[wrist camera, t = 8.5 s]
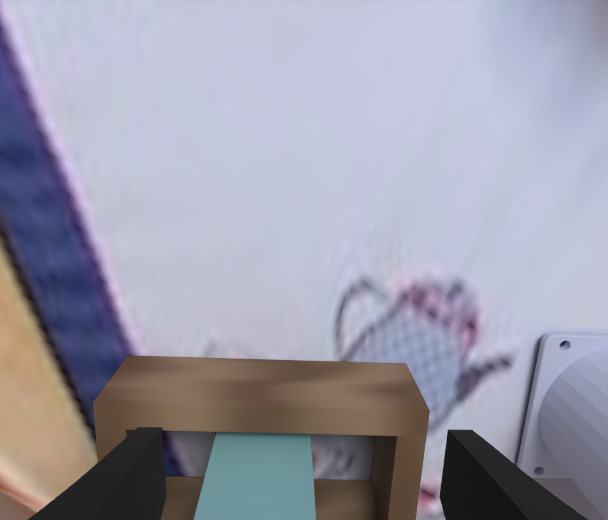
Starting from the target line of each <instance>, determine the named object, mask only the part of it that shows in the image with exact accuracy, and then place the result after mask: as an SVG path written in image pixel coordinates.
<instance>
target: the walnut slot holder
mask: <svg viewBox="0 0 608 520" xmlns="http://www.w3.org/2000/svg"><path fill="white" fill-rule="evenodd" d="M93 407H94V419H95V431H96V443H97V455H98V462H99V461H100V460H102V459H103V458H104V457H105V456H106V455H107V454H108V453H109V452H111V451H112V450H113V449H114V448H115V447H116V446H117V445H118V444H119V443H120V442H122V441H123V440H124V439H125V438H126V437H127V436H128V435H129V434H131V433H132V432H133V431H134V430H135V429H136V428H137V427H162V429H163V430H165V431H207V432H250V433H292V434H334V435H375V436H374V446H373V457H372V467H371V477H370V480H321V479H314V495H315V511H316V520H415V519H416V512H417V504H418V496H419V489H420V481H421V473H422V466H423V458H424V450H425V443H426V435H427V427H428V420H429V412H430V411H429V409H428V407H427V405H426V403H425V401H424V399H423V397H422V395H421V393H420V391H419V389H418V387H417V385H416V383H415V381H414V379H413V377H412V375H411V373H410V371H409V369H408V367H407V365H406V364H398V363H363V362H329V361H295V360H261V359H227V358H192V357H158V356H128V357H127V358H126V359H125V361H124V362H123V363H122V365H121V366H120V367H119V369H118V370H117V371H116V373H115V374H114V375H113V377H112V378H111V379H110V380H109V382H108V383H107V384H106V386H105V387H104V388H103V390H102V391H101V392H100V394H99V395H98V396H97V398H96V399H95V400H94V402H93ZM204 478H205V477H173V476H165V479H166V495H167V496H166V500H165V504H164V508H163V512H162V516H161V520H194V517H195V513H196V509H197V505H198V501H199V497H200V493H201V490H202V486H203V482H204Z"/></svg>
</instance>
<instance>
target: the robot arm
mask: <svg viewBox="0 0 608 520" xmlns="http://www.w3.org/2000/svg"><path fill="white" fill-rule="evenodd" d="M565 340H566V343H565V345H564V346H562V347H560V344H561V342H563V341H565ZM537 467H539V468H538V469H536V470H535V468H537ZM532 478H539V479H571V480H572V481H573V483H574V484H575V485H576V486H577V487H578V489H579V490H580V491H581V492H582V494H583V495H584V496H585V497H586V499H587V500H588V501H589V502H590V503H591V505H592V506H593V507H594V508H595V510H596V511H597V512H598V513H599V515H600V516H601V517H602V518H603V519H604V520H608V334H589V333H558V332H552V333H548V334H546V335H545V336H544V337H543V338H542V340H541V343H540V348H539V353H538V358H537V363H536V369H535V374H534V379H533V384H532V389H531V395H530V400H529V405H528V410H527V415H526V420H525V426H524V431H523V436H522V441H521V446H520V452H519V457H518V462H517V466H516V465H515V464H513V463H512V462H511V461H510V460H509V459H507V458H506V457H505V456H504V455H503V454H501V453H500V452H499V451H498V450H496V449H495V448H494V447H493V446H492V445H490V444H489V443H488V442H487V441H485V440H484V439H483V438H482V437H480V436H479V435H478V434H477V433H475V432H474V431H473V430H448V434H447V442H446V450H445V458H444V466H443V474H442V482H441V490H440V500H441V504H442V507H443V511H444V515H445V518H446V520H588V519H586V518H585V517H583V516H582V515H580V514H579V513H578V512H576V511H575V510H573V509H572V508H571V507H569V506H568V505H566V504H565V503H564V502H562V501H561V500H560V499H558V498H557V497H555V496H554V495H553V494H552V493H550V492H549V491H548V490H546V489H545V488H544V487H542V486H541V485H540V484H538V483H537V482H536V481H535V480H533V479H532ZM166 496H167V495H166V479H165V462H164V446H163V429H162V427H137V428H136V429H135V430H134V431H133V432H132V433H131V434H129V435H128V436H127V437H126V438H125V439H124V440H123V441H122V442H120V443H119V444H118V445H117V446H116V447H115V448H114V449H113V450H112V451H111V452H109V453H108V454H107V455H106V456H105V457H104V458H103V459H102V460H100V461H99V462H98V463H97V464H96V465H95V466H94V467H93V468H91V469H90V470H89V471H88V472H87V473H86V474H84V475H83V476H82V477H81V478H80V479H79V480H78V481H76V482H75V483H74V484H73V485H71V486H70V487H69V488H68V489H66V490H65V491H64V492H63V493H61V494H60V495H59V496H58V497H56V498H55V499H54V500H53V501H51V502H50V503H49V504H48V505H46V506H45V507H44V508H43V509H41V510H40V511H39V512H37V513H36V514H35V515H34V516H32V517H31V518H29V519H28V520H161V516H162V512H163V508H164V504H165V500H166Z"/></svg>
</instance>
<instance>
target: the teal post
mask: <svg viewBox="0 0 608 520" xmlns="http://www.w3.org/2000/svg"><path fill="white" fill-rule="evenodd" d="M194 520H316V511H315V495H314V479H313V463H312V446H311V434H292V433H250V432H216V435H215V439H214V443H213V447H212V451H211V455H210V459H209V462H208V466H207V470H206V474H205V478H204V482H203V486H202V490H201V493H200V497H199V501H198V505H197V509H196V513H195V517H194Z"/></svg>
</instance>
